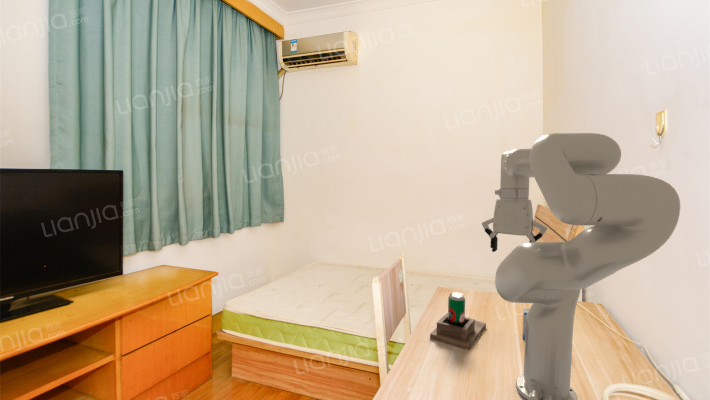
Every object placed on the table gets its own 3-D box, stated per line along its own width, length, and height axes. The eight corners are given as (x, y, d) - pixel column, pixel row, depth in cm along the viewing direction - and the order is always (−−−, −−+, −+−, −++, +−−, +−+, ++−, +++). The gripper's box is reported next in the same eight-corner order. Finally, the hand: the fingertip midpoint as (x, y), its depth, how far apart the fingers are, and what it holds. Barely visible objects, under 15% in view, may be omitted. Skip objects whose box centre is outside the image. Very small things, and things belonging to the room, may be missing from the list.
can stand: (468, 349, 100) (468, 333, 100) (430, 338, 107) (430, 322, 107) (485, 327, 115) (486, 312, 114) (451, 318, 122) (451, 304, 121)
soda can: (462, 336, 105) (463, 298, 104) (446, 333, 107) (446, 296, 106) (465, 330, 110) (466, 293, 109) (449, 326, 112) (450, 291, 111)
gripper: (479, 194, 101) (477, 251, 102) (546, 196, 90) (543, 260, 92) (486, 192, 107) (485, 247, 108) (550, 195, 96) (547, 254, 98)
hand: (511, 253), depth 100 cm, fingers open, 9 cm apart
